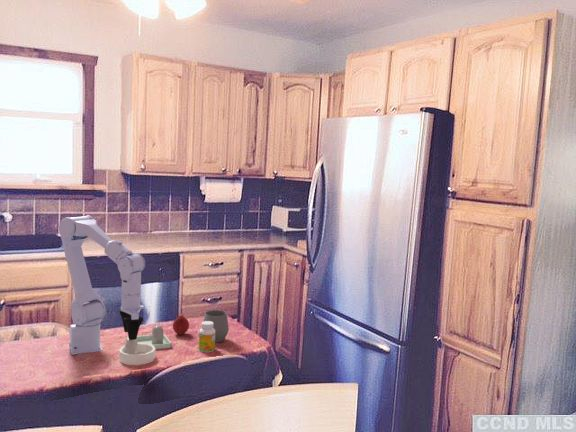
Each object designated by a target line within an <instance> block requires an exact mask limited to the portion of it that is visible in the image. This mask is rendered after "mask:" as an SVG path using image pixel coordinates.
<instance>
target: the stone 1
mask: <svg viewBox="0 0 576 432" xmlns="http://www.w3.org/2000/svg"><path fill="white" fill-rule="evenodd" d="M124 346H125V353H127V354H136V355H137V350H138V343H137V341H136V340H128V341H127V342H126V341H125V345H124Z"/></svg>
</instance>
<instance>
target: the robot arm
mask: <svg viewBox="0 0 576 432" xmlns="http://www.w3.org/2000/svg"><path fill="white" fill-rule="evenodd" d="M57 228H58V232H59V235H60V239H61V242H62V248H63V252H64V256H65V259H66V260H65V261H66V263H67V267H68V271H69V275H70V279H71V283H72V287H73V290H74V295H75V297H74V299H73V300H72V301H71V303H70V305H69V306H70V308H71V313H70V315H71V320H72V321H73V323H74V324H69V343H68V344H69V345H68V346H69V349H70V350H69V351H70V354H71V355H72V356H74V355H77V354H86V353H87V354H88V353H95V352H102V351H103V348H102V345H101V322H103V319H104V317H105V316H106V314H107V309H106V305H105V303H104V302H103V301H102V299H101V298H102V297H101V295H99V294H98V293H96V292H94V290H93V285H92V283H91V278H90V274H89V270H88V267H87V263H86V260H85V256H84V252H83V248H82V247H83V243H85V241H87V240H88V238H90V239H91V240H92V241H93V242H95V243H96V244H98V245H99V246H100V247H101V248H103V251H104V254H105V256H107V257H108V258H109V259H110V260H111V261H113V262H114V263H115V264H116V265H117V269H118V272H119V274H120V279H121V300H120V301H121V305H120V309H118V312H119V315H120V316H121V321H122V327H123V330H124V333H127V335H128V336H127V337H129V340H136V338H137V336H139V335H138V334H139V331H140V326H141V324H142V323H143V321H144V317H143V316H140V314H139V313H141V312H140V311H141V310H144V309H145V306H144V304H141V297H142V296H141V293H142V292H141V291H142V272H143V271H144V269H145V267H146V260H145V258H144V256H143V255H142V254H141V253H139V252H138V253H136V252H133V251H132V250H131V249H129V248H128V247H126V246H125V245H124V244H123V242H122V241H121V240H118V239H113V240H112V239H111V237H109V235H107V233H106V232H105V231H104V230H103V229H101V228H100V226H99V225H98V221H97V220H96V219H94V218H93V217H92V216H91V215H84V216H73V217H72V216H71V217H69V216H67V217H64V218H62V219H61V221H60V223H59V226H58V227H57ZM139 316H140V317H139Z"/></svg>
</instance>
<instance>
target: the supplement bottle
mask: <svg viewBox="0 0 576 432" xmlns="http://www.w3.org/2000/svg"><path fill="white" fill-rule="evenodd" d="M203 321H204V320H203ZM203 321H202V322H201V324H200V325H201V328H200V329H199V331H198V351H199V352H201V353H211V352H214V351H215V350H216V348H215V347H216V342H215V329H214V328H213V326H214V323H213V322H211V321H204V322H203Z"/></svg>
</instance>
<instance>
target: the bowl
mask: <svg viewBox="0 0 576 432" xmlns="http://www.w3.org/2000/svg"><path fill="white" fill-rule="evenodd" d="M156 350H157V349H156V348H155V347H154V346H153V345H150V344H144V343H138V350H137V355H136V354H127V353H125V345H123V346H121V347H120V348H119V349H118V360H119V362H120V363H122V364H124V365H128V366H138V365H139V366H140V365H141V366H142V365H146V364H149V363H151V362H153V361H154V360H155V359H156V354H157V353H156Z"/></svg>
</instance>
